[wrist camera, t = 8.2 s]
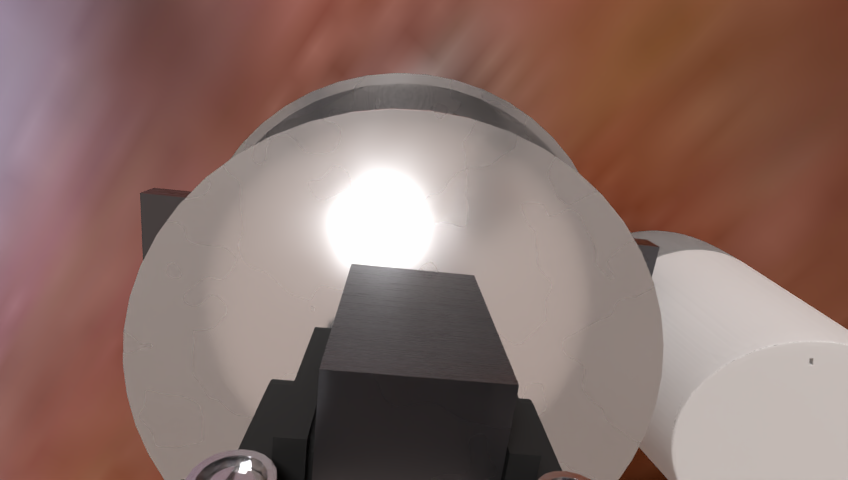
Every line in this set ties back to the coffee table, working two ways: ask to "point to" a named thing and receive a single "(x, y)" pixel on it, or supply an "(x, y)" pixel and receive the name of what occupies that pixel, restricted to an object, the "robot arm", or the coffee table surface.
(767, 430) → the smart speaker
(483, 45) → the coffee table surface
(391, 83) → the cooker pot
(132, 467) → the coffee table surface
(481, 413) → the steel lid
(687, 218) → the coffee table surface
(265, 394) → the robot arm
